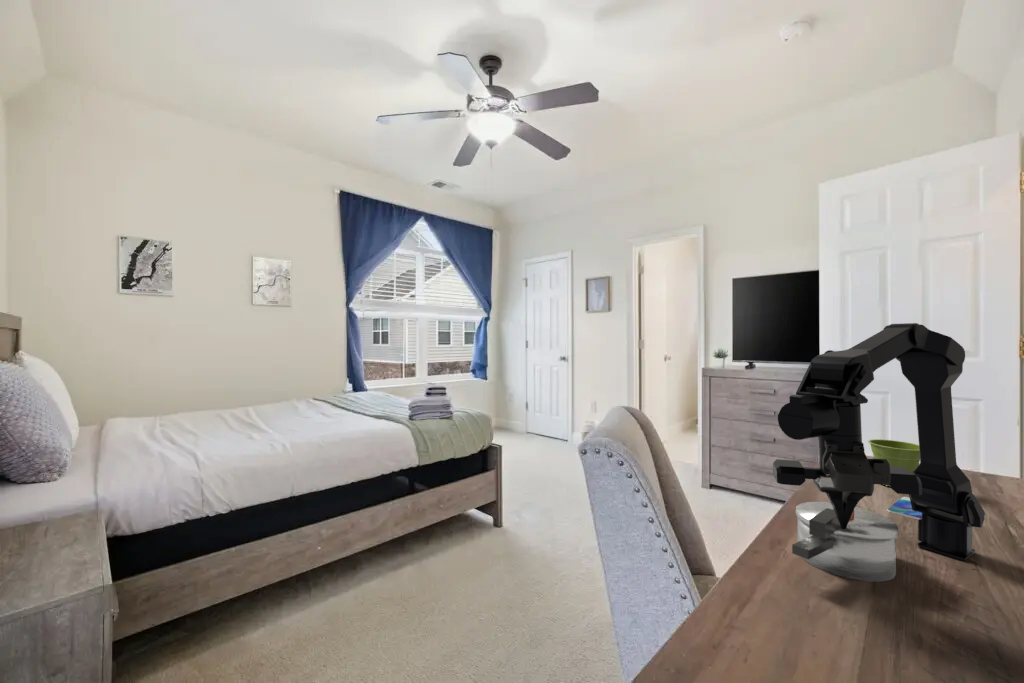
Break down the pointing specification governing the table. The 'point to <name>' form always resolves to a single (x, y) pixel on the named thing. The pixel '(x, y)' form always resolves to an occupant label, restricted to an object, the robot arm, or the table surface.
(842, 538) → the pressure cooker pot
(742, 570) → the table surface
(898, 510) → the smartphone
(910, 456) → the plant pot
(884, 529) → the cooker lid
